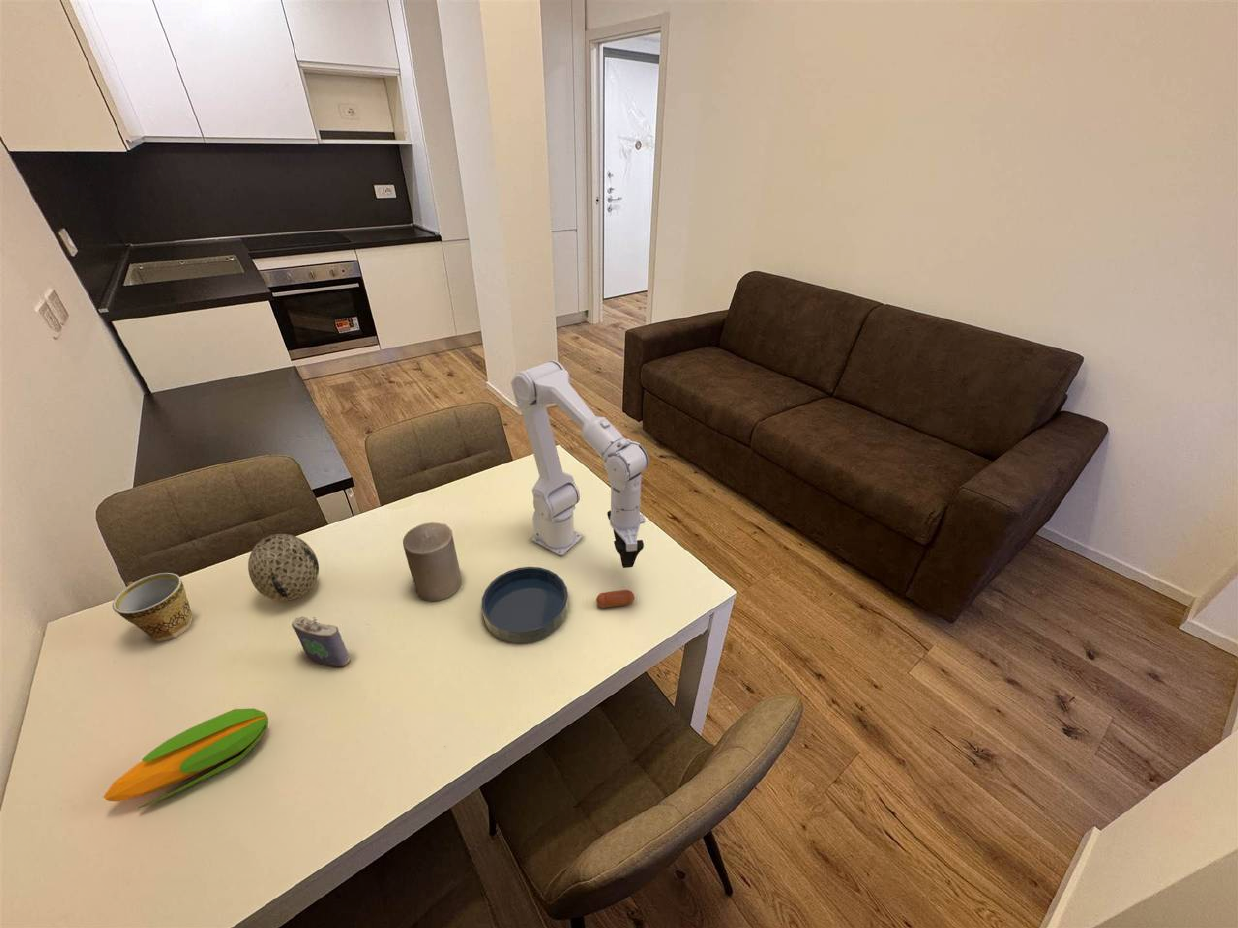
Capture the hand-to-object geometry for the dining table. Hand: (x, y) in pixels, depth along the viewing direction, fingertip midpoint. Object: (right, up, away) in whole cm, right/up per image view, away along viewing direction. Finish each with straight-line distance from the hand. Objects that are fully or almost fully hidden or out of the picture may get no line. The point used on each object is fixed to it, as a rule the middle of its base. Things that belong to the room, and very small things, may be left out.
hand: (624, 553), depth 106 cm
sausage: (-2, -9, 0) cm, 10 cm away
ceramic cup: (-91, -13, -5) cm, 92 cm away
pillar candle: (-40, -8, +5) cm, 41 cm away
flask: (-55, -18, -11) cm, 59 cm away
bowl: (-20, -11, -1) cm, 23 cm away
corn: (-65, -28, -28) cm, 77 cm away
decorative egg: (-70, -9, +2) cm, 70 cm away
